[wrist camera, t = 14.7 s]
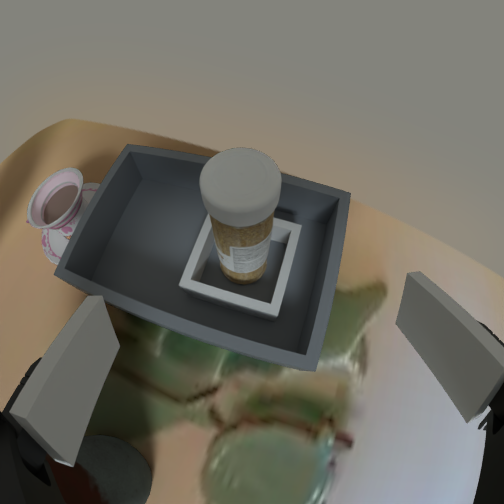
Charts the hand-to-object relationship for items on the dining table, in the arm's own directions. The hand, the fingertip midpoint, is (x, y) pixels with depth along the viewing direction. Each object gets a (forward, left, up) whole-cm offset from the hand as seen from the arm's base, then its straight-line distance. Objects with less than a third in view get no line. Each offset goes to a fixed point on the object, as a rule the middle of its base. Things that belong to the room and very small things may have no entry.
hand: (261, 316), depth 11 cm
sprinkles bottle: (-3, +7, -14) cm, 16 cm away
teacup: (-25, +6, -16) cm, 30 cm away
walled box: (-7, +7, -15) cm, 18 cm away
